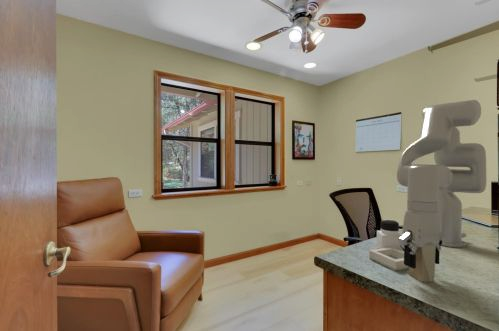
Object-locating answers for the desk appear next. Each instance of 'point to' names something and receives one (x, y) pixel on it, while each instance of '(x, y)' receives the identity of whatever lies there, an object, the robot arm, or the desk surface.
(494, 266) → the desk surface
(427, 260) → the box
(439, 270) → the desk surface
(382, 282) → the desk surface
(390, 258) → the shallow square tray
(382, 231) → the medicine bottle
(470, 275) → the desk surface
